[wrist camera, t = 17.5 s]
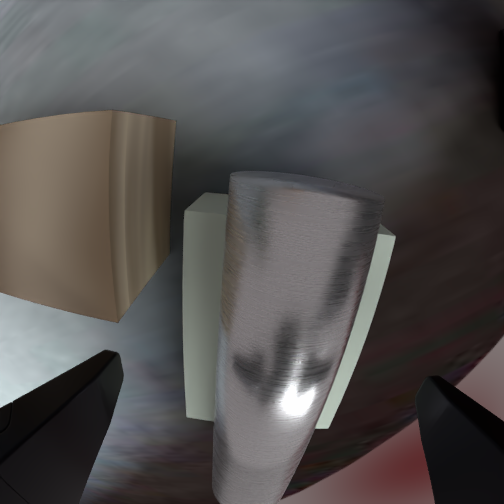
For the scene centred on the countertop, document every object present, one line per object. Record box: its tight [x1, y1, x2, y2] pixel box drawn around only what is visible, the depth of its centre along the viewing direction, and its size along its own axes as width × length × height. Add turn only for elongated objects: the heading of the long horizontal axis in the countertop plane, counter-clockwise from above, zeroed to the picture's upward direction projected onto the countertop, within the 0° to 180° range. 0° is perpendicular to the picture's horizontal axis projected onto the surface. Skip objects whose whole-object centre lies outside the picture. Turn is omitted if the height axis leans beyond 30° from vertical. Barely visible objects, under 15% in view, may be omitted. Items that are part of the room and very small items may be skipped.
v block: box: [183, 192, 396, 428], centre depth 13 cm, size 7×10×4 cm
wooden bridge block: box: [0, 110, 176, 323], centre depth 10 cm, size 11×6×6 cm, turn 84°
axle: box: [212, 171, 385, 504], centre depth 10 cm, size 16×4×4 cm, turn 174°
